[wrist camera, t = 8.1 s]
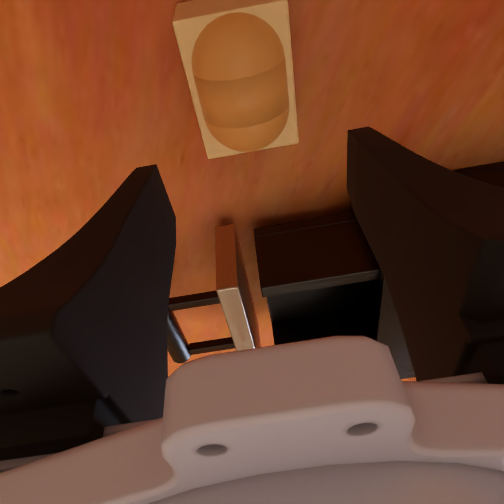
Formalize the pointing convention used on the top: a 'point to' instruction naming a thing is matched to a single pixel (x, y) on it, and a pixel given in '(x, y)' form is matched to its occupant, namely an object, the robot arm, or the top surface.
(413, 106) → the top surface
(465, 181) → the robot arm
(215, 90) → the tan domed block
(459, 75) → the top surface
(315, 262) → the drawer
